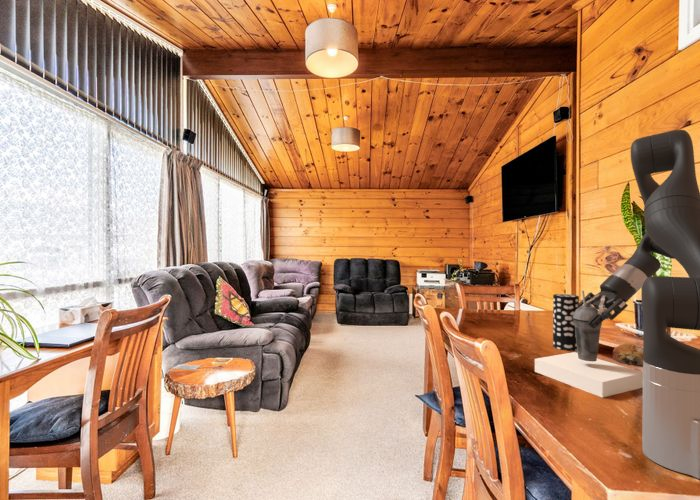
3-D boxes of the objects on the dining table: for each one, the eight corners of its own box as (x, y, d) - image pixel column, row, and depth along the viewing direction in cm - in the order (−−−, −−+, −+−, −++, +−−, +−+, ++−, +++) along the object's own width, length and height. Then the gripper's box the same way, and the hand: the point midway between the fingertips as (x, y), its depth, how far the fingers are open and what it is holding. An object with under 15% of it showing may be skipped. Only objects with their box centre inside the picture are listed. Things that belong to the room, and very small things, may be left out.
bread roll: (653, 376, 113) (660, 352, 115) (636, 366, 110) (643, 342, 111) (620, 366, 123) (626, 345, 124) (603, 357, 119) (610, 335, 120)
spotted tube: (548, 346, 135) (548, 294, 134) (562, 343, 138) (562, 293, 138) (569, 352, 127) (569, 297, 127) (583, 349, 131) (583, 296, 130)
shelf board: (645, 386, 96) (645, 372, 95) (602, 397, 89) (602, 382, 89) (574, 364, 114) (574, 352, 114) (534, 371, 107) (534, 358, 107)
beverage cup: (607, 363, 97) (608, 292, 97) (579, 362, 99) (579, 292, 98) (595, 355, 104) (595, 289, 104) (568, 354, 106) (568, 288, 105)
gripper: (597, 272, 108) (559, 309, 109) (632, 276, 94) (588, 319, 94) (615, 289, 108) (576, 326, 108) (653, 296, 93) (608, 338, 94)
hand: (582, 323), depth 101 cm, fingers closed on beverage cup, 7 cm apart
